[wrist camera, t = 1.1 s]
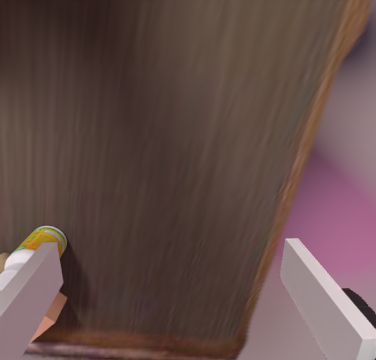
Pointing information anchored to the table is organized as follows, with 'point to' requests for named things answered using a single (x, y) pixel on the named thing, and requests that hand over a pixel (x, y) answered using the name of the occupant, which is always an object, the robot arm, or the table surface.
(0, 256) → the roller bed
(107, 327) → the table surface
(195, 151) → the table surface
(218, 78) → the table surface
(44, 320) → the block
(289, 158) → the table surface
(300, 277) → the robot arm
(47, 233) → the supplement bottle
